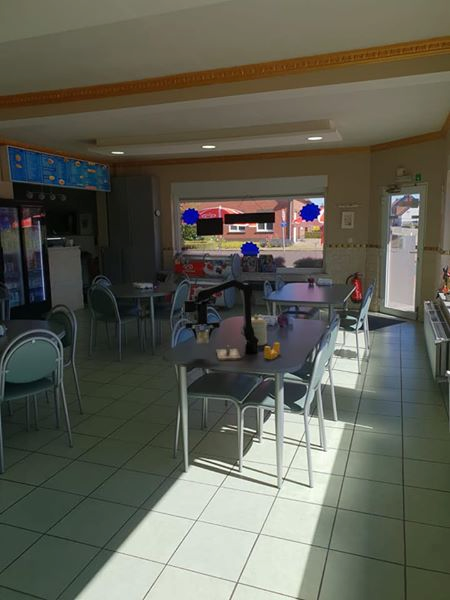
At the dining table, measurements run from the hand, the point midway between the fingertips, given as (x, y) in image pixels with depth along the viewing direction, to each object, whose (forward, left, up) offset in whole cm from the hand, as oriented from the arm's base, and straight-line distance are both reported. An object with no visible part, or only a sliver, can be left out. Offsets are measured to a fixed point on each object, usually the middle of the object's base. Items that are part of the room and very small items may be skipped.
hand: (202, 339), depth 258 cm
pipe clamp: (-39, +5, -10) cm, 41 cm away
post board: (-14, +1, -9) cm, 17 cm away
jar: (-34, -24, -10) cm, 43 cm away
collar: (0, 0, -1) cm, 1 cm away
